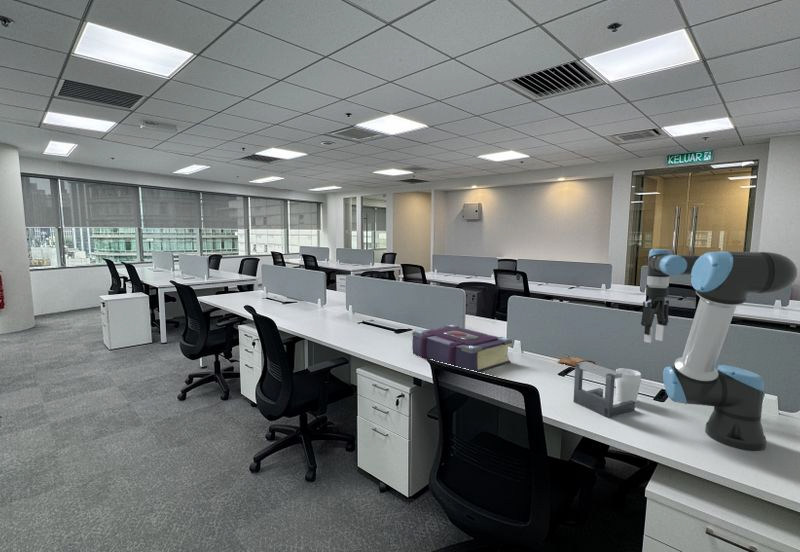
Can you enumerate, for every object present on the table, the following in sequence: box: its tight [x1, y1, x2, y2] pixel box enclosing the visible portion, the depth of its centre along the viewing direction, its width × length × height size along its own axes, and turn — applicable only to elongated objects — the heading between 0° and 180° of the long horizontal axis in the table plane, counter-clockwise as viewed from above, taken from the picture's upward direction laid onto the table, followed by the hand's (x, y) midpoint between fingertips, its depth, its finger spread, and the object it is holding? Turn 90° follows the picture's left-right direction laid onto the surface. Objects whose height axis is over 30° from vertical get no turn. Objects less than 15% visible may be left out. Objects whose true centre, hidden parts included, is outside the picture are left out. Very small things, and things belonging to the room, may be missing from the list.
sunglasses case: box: [556, 355, 596, 368], centre depth 200 cm, size 18×7×7 cm
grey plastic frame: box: [572, 361, 636, 419], centre depth 150 cm, size 15×16×16 cm
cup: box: [614, 367, 642, 404], centre depth 156 cm, size 9×9×12 cm
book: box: [411, 324, 513, 373], centre depth 211 cm, size 33×45×14 cm
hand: (653, 341), depth 160 cm, fingers open, 7 cm apart
